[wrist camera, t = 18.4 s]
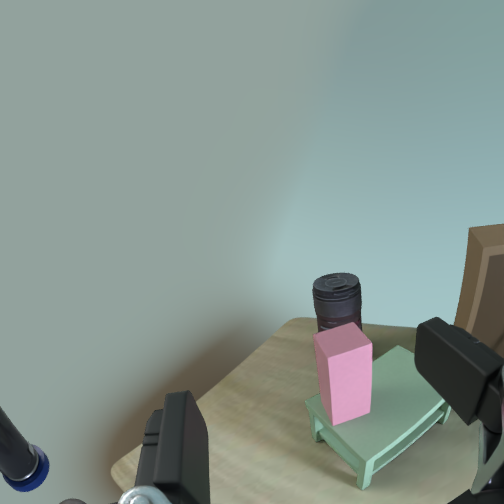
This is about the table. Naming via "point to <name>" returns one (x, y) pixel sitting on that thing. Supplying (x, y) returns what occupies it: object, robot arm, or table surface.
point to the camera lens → (337, 300)
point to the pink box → (344, 372)
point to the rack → (382, 416)
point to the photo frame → (484, 287)
